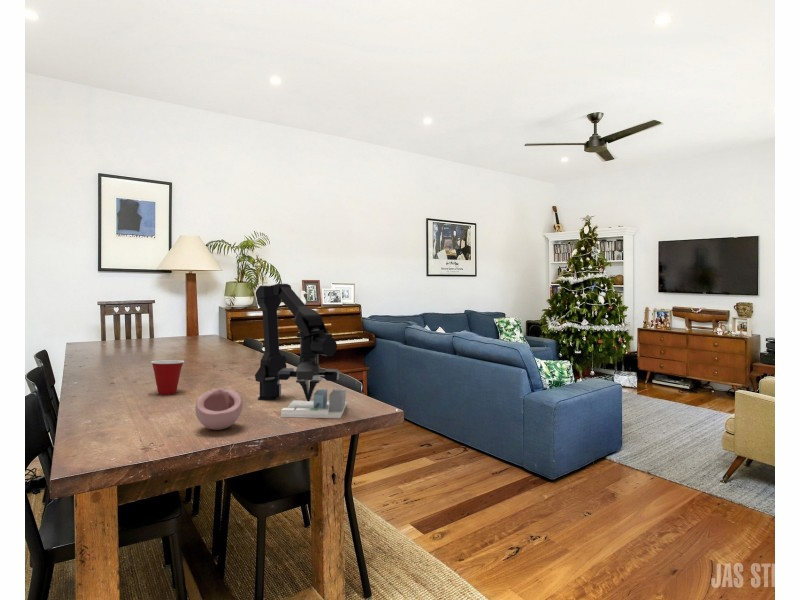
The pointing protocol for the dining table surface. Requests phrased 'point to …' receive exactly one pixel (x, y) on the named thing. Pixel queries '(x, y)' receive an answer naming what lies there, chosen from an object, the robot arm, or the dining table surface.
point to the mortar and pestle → (218, 408)
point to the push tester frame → (306, 409)
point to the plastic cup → (167, 375)
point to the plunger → (320, 398)
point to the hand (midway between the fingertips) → (308, 401)
